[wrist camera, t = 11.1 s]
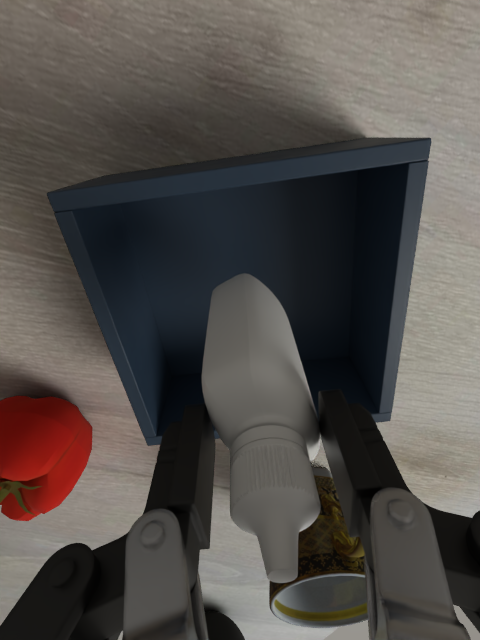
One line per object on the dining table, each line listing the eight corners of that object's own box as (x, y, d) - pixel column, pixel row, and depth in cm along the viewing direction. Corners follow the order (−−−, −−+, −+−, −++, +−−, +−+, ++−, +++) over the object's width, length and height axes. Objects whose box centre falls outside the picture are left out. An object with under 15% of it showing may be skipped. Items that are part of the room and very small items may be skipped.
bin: (103, 175, 19) (45, 192, 13) (368, 137, 18) (432, 137, 12) (166, 378, 27) (147, 446, 21) (355, 356, 26) (390, 421, 20)
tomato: (-15, 375, 26) (-96, 454, 20) (96, 382, 27) (52, 460, 20) (15, 451, 31) (-44, 535, 24) (109, 455, 31) (76, 538, 25)
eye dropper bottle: (216, 359, 19) (197, 627, 9) (210, 270, 16) (170, 507, 6) (290, 357, 19) (358, 622, 9) (296, 268, 16) (407, 500, 6)
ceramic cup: (335, 516, 37) (366, 631, 29) (251, 508, 36) (257, 625, 28) (381, 441, 31) (438, 559, 22) (281, 428, 30) (301, 547, 21)
